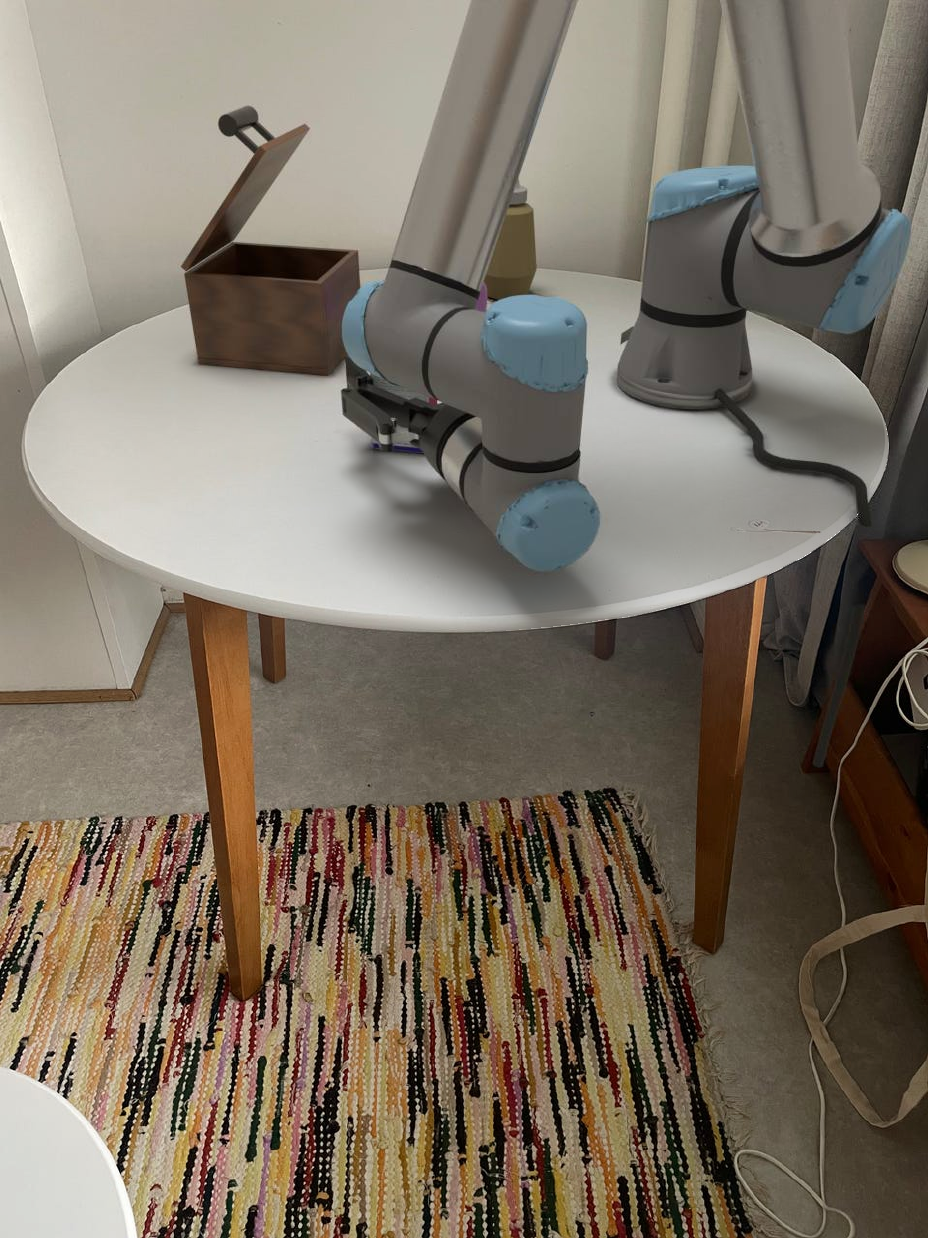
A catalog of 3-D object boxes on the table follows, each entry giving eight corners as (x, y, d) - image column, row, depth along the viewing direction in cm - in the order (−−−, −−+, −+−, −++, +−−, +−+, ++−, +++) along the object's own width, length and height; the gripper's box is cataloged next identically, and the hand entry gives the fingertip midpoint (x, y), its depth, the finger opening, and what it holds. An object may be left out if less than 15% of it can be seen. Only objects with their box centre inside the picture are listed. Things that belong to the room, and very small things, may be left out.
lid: (310, 128, 115) (266, 85, 114) (265, 151, 105) (216, 104, 103) (234, 240, 125) (192, 202, 123) (185, 271, 114) (139, 230, 113)
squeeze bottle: (469, 290, 144) (470, 155, 133) (519, 283, 146) (523, 150, 136) (494, 307, 138) (497, 167, 127) (545, 299, 140) (552, 161, 130)
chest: (363, 336, 129) (358, 249, 122) (328, 375, 118) (320, 283, 111) (243, 326, 132) (232, 241, 125) (198, 363, 121) (183, 273, 114)
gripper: (368, 514, 85) (295, 413, 102) (579, 470, 92) (477, 382, 109) (363, 433, 81) (287, 342, 98) (585, 393, 88) (478, 314, 105)
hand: (388, 363), depth 103 cm, fingers closed on supplement box, 8 cm apart
